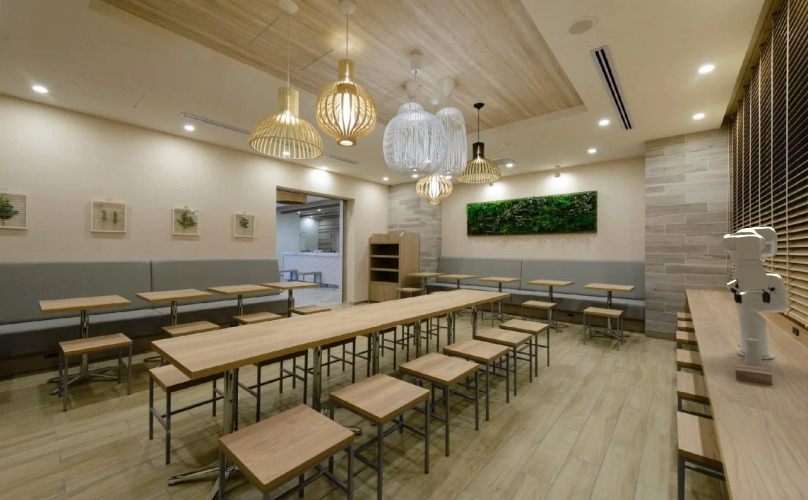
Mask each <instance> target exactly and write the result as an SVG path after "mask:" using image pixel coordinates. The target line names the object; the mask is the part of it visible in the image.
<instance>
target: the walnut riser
mask: <svg viewBox="0 0 808 500" xmlns="http://www.w3.org/2000/svg"><path fill="white" fill-rule="evenodd" d="M772 376H773V375H772V372H771V369H770V367H766V366H762V367H759V366H752V365H746V364H744V363H735V377H736V378H735V379H736V380H737V381H745V382H750V383H757V384H762V385H770V386H773V378H772Z"/></svg>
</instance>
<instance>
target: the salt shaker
mask: <svg viewBox="0 0 808 500" xmlns="http://www.w3.org/2000/svg"><path fill="white" fill-rule="evenodd" d="M745 343H746V344H747V349H746V355H745V356H744V363H745V364H744V365H752V366H759V367H764V363H763V359H761V356H760V353H759V350H758V347H757V345H759V341H758V340H757V339H752V338H747V339H745Z"/></svg>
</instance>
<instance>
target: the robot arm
mask: <svg viewBox="0 0 808 500" xmlns="http://www.w3.org/2000/svg"><path fill="white" fill-rule="evenodd" d="M776 231H777V230H775V229H774V228H773V227H771V226H763V227H761V226H760V227H750V228H749V227H748V228H742V229H739V230H737V231H736V232H733V233H729V234H725V235H723V236H722V239H721V244H720V245H721V249H722V251H724V252H725V253H728V255H729V257H730V260H731V262H732V264H733V265H734V266H735V267H734V270H733V279H732V281H730V282H728V283H726V284H725V286H726V289H728V290H729V291H730V293H732V294H733V296H734V297H733V300H734V302H735V305H736V308H737V309H736V310H737V313H738V322H739V323H738V324H739V334H740V336H739V337H740V344H739V343H738V344H737V346H736V347H738V348H740V349H739V350H737V354H738V355H740V356H742V357H745V355H746V349H747V344H746V343H745V339H747V338H752V339H757V340H758V341H759V345H757V347H758V350H759V353H760V356H761V359H762V360H772V359H775V354H773V353H770V345H769V344H770V343H769V332H768V330H769V329H768V322H767V319H766V317H764V316H763V315H761V313H762V312H763V313H764V312H766V313H785V312H787V311H788V308H789V304H788V303H789V302H788V301H789V300H788V295H787V290H786V289H787V288H786V284H785V280H784V278H783V276H782V275H780V274H777V273H767V271H766V268H765V266H763V264H766V260H763V258H769V257H775V256H776V255H777V253H778V233H777V232H776ZM760 312H761V313H760Z"/></svg>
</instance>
